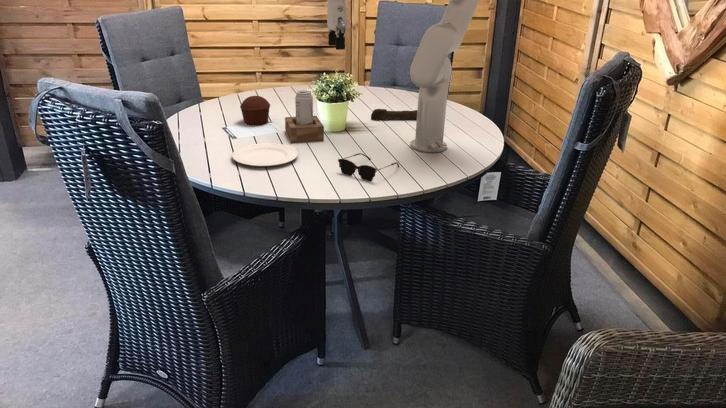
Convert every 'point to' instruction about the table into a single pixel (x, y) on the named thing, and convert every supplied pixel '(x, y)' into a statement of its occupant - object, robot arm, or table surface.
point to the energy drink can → (304, 108)
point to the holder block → (304, 131)
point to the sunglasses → (359, 168)
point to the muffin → (255, 111)
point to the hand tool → (393, 114)
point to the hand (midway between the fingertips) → (336, 47)
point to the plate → (264, 155)
